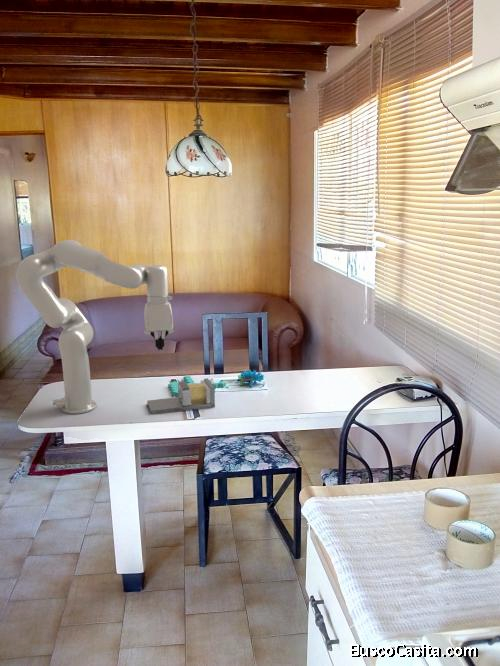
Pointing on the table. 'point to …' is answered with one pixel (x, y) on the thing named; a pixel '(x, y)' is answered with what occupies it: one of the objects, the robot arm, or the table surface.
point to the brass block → (197, 392)
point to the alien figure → (188, 380)
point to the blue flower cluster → (250, 377)
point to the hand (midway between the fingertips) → (160, 348)
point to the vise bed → (176, 405)
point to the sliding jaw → (184, 393)
